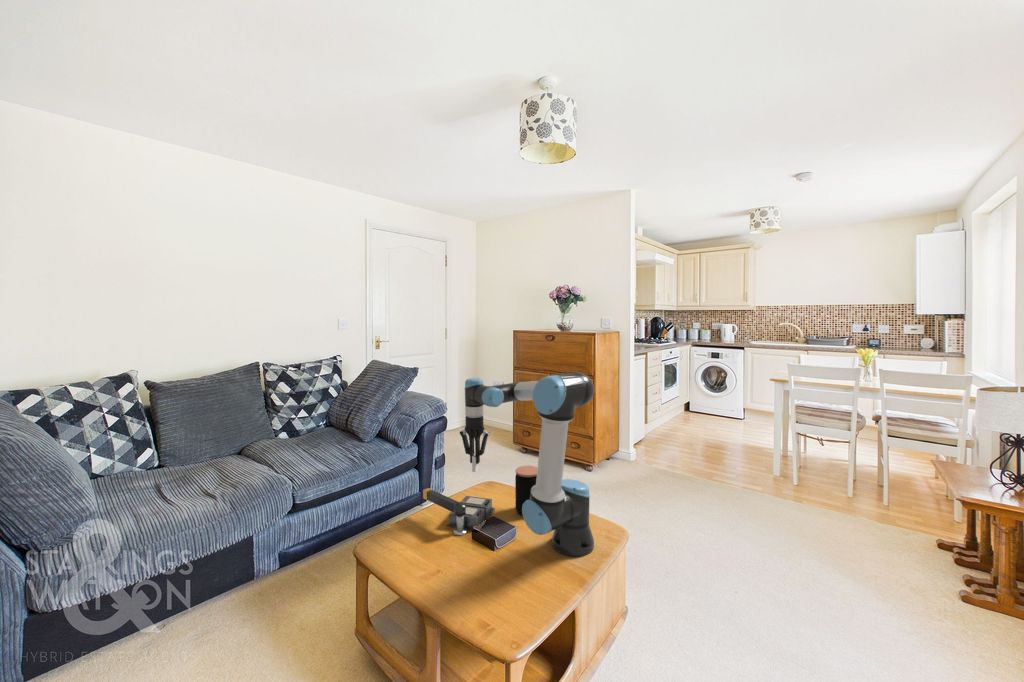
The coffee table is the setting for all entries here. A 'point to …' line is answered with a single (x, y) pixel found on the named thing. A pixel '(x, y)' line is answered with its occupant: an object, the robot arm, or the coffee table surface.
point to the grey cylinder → (460, 526)
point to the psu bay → (473, 512)
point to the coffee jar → (524, 485)
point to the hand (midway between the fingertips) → (475, 470)
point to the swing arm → (445, 502)
